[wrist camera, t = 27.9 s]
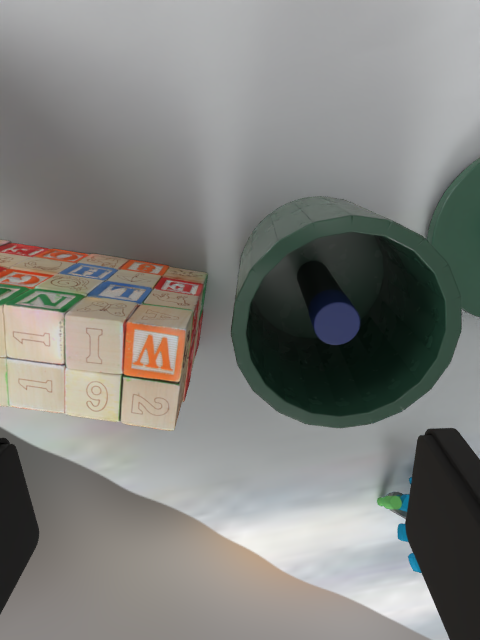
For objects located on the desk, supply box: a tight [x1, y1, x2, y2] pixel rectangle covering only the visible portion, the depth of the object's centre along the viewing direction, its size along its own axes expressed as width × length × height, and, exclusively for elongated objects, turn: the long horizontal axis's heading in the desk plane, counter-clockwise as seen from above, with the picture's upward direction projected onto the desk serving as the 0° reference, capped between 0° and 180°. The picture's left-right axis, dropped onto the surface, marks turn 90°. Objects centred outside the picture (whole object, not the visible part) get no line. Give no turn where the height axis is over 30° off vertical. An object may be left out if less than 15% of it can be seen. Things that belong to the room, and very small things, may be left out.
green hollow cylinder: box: [231, 196, 461, 428], centre depth 27 cm, size 12×12×12 cm
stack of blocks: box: [0, 240, 208, 431], centre depth 28 cm, size 21×6×12 cm, turn 81°
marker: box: [297, 261, 360, 345], centre depth 27 cm, size 2×2×10 cm
